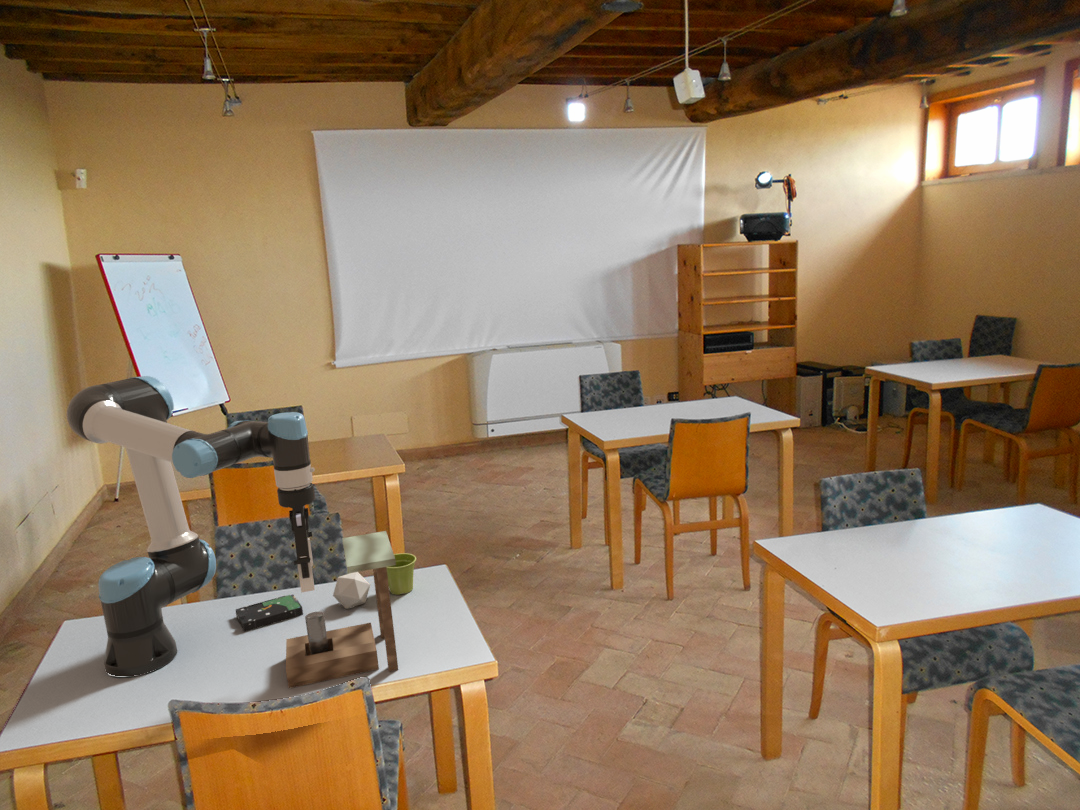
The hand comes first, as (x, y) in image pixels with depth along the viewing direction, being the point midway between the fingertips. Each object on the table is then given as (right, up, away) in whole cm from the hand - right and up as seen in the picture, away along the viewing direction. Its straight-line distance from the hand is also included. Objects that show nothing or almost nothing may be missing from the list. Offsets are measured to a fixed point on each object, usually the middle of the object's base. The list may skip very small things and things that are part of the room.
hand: (307, 578), depth 171 cm
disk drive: (-19, -17, +30) cm, 40 cm away
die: (+2, -14, +34) cm, 37 cm away
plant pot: (+14, -12, +40) cm, 44 cm away
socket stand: (+7, -20, +5) cm, 22 cm away
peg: (+2, -19, +4) cm, 20 cm away
